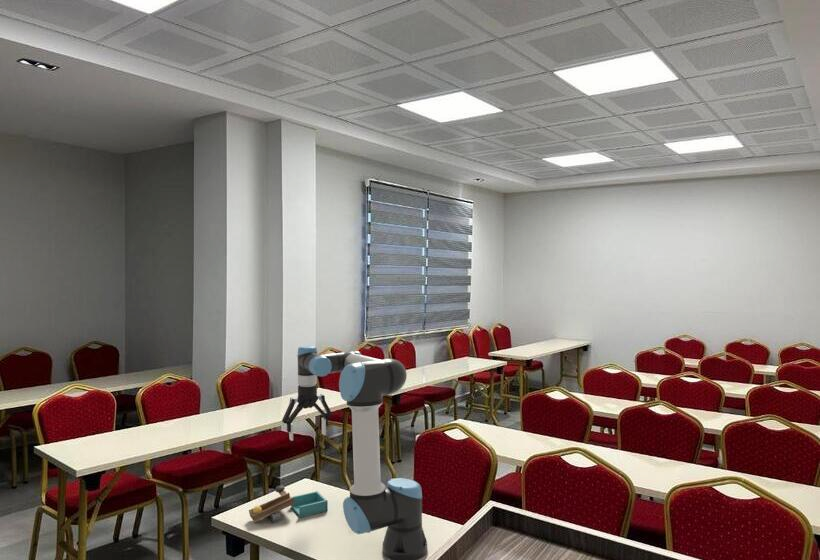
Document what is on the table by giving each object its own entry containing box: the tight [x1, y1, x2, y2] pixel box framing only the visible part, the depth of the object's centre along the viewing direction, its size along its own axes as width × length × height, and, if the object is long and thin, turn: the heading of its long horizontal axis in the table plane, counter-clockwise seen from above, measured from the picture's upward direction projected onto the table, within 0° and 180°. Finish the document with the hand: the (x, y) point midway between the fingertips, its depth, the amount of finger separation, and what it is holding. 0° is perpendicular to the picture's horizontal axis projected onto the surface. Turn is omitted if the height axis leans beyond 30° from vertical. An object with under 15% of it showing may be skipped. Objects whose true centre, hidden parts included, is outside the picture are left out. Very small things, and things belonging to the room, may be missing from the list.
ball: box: [252, 505, 262, 514], centre depth 210 cm, size 3×3×3 cm
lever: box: [248, 484, 295, 523], centre depth 217 cm, size 17×17×4 cm
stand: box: [266, 511, 283, 524], centre depth 213 cm, size 10×4×3 cm, turn 31°
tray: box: [290, 490, 329, 518], centre depth 220 cm, size 11×11×4 cm
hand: (307, 437), depth 224 cm, fingers open, 13 cm apart
